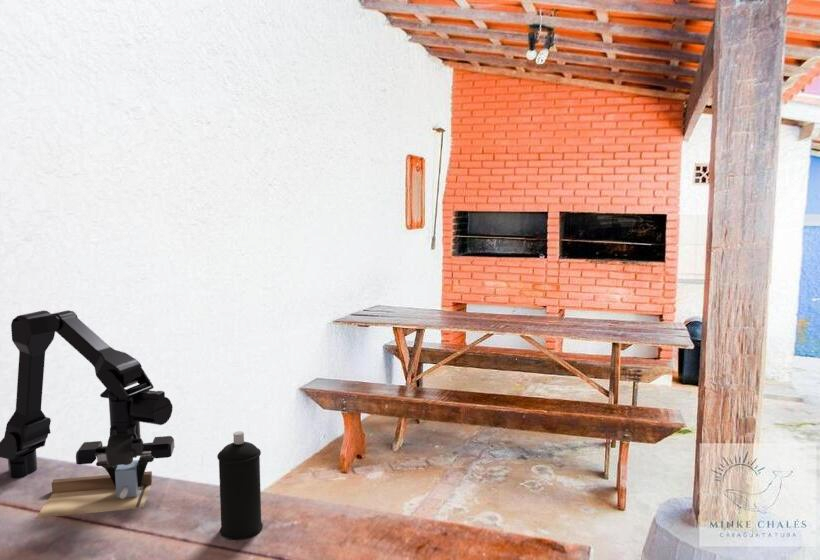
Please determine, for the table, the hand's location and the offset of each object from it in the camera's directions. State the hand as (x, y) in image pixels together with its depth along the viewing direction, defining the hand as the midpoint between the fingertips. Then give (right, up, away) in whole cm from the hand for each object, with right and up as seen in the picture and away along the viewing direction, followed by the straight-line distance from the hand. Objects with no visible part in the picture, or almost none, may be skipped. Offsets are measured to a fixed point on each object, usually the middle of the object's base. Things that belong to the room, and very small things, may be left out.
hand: (128, 487), depth 139 cm
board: (-5, -3, -2) cm, 7 cm away
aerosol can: (+27, -5, -11) cm, 30 cm away
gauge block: (0, -1, -2) cm, 2 cm away
